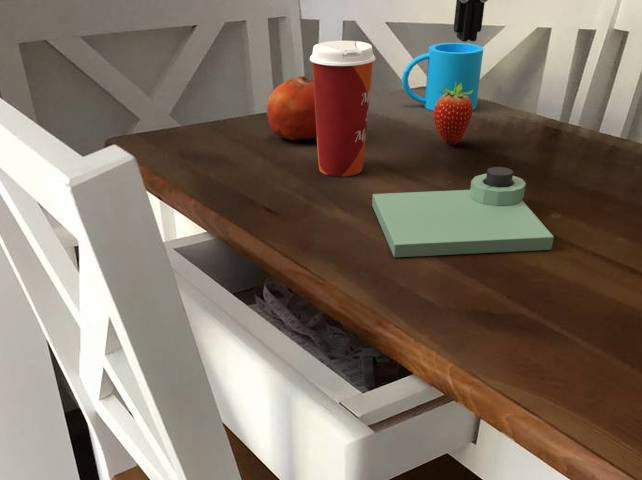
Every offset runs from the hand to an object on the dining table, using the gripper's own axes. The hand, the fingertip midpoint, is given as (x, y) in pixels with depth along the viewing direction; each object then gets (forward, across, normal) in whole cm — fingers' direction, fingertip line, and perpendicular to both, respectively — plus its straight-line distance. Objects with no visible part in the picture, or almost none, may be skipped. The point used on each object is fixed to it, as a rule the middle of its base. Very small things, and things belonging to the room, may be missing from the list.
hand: (466, 38), depth 89 cm
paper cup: (+14, +16, +4) cm, 21 cm away
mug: (+14, -4, -24) cm, 28 cm away
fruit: (+14, 0, -4) cm, 14 cm away
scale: (+13, +6, +24) cm, 28 cm away
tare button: (+11, +1, +20) cm, 23 cm away
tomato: (+14, +19, -10) cm, 26 cm away
